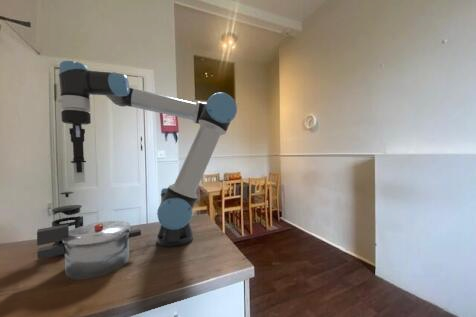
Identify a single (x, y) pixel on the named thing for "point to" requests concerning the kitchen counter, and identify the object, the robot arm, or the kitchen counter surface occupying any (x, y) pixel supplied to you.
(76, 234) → the lid
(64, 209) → the french press
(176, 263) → the kitchen counter surface
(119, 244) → the pressure cooker pot
